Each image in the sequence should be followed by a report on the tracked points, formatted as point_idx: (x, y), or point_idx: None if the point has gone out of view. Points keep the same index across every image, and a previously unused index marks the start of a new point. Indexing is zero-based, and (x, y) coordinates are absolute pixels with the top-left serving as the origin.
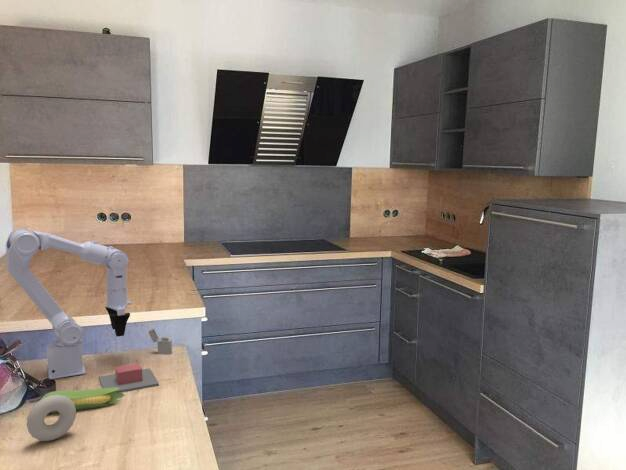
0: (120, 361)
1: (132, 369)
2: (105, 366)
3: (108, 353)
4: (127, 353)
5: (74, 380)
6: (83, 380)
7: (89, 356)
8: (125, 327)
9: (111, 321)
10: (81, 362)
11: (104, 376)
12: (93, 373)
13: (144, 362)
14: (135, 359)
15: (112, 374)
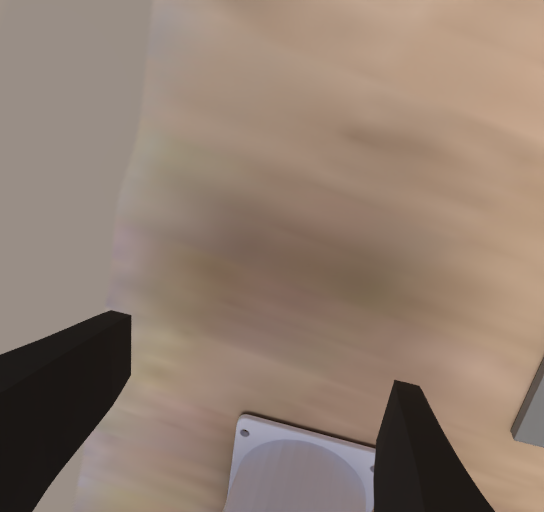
0: (307, 238)
1: None
2: (337, 336)
3: (124, 245)
4: (180, 144)
5: None
6: None
7: None
8: (456, 457)
9: (72, 448)
10: (336, 494)
11: (535, 419)
12: None
13: (441, 103)
14: (332, 139)
15: (542, 377)
